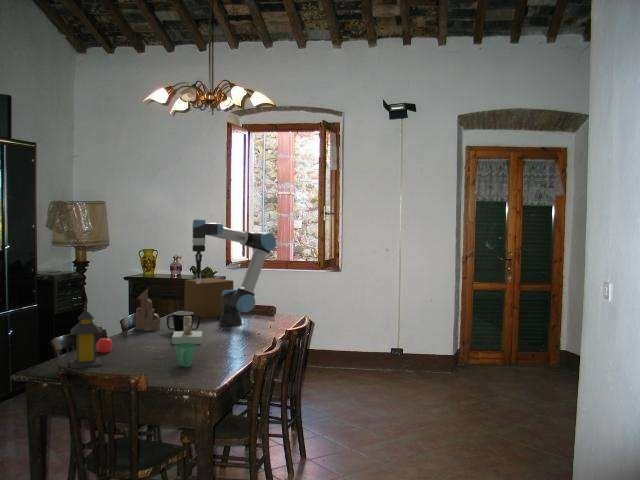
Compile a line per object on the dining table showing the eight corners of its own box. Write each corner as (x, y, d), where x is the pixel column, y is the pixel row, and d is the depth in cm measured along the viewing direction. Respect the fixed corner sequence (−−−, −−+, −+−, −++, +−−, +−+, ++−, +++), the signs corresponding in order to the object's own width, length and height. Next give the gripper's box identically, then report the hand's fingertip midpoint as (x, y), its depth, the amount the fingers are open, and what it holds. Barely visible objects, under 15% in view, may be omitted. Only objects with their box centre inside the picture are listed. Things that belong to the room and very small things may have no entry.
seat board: (202, 337, 354) (202, 331, 354) (201, 343, 339) (201, 336, 338) (174, 338, 352) (174, 331, 352) (171, 344, 336) (172, 337, 336)
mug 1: (177, 336, 358) (177, 316, 357) (164, 331, 370) (164, 312, 369) (201, 333, 369) (201, 313, 368) (188, 328, 381) (188, 310, 380)
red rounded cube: (96, 350, 317) (96, 335, 317) (112, 349, 320) (112, 334, 320) (96, 354, 310) (97, 338, 309) (113, 353, 313) (113, 337, 313)
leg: (191, 340, 348) (191, 315, 347) (191, 341, 343) (191, 317, 343) (183, 340, 347) (183, 316, 346) (183, 341, 343) (183, 317, 342)
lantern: (70, 368, 280) (70, 304, 279) (69, 361, 293) (69, 300, 292) (102, 366, 286) (102, 303, 285) (100, 359, 299) (100, 299, 298)
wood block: (184, 314, 435) (184, 279, 434) (212, 310, 453) (212, 277, 452) (205, 318, 418) (205, 283, 417) (233, 314, 436) (233, 280, 435)
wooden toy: (160, 328, 379) (160, 289, 378) (156, 330, 373) (156, 290, 372) (137, 327, 382) (137, 288, 381) (132, 329, 375) (132, 289, 374)
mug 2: (177, 363, 294) (177, 342, 294) (197, 363, 295) (197, 343, 294) (170, 370, 280) (170, 349, 279) (192, 371, 280) (192, 349, 280)
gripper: (193, 244, 371) (192, 282, 372) (191, 245, 358) (191, 284, 359) (205, 244, 372) (205, 282, 373) (204, 245, 360) (204, 284, 361)
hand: (198, 283), depth 366 cm, fingers closed
